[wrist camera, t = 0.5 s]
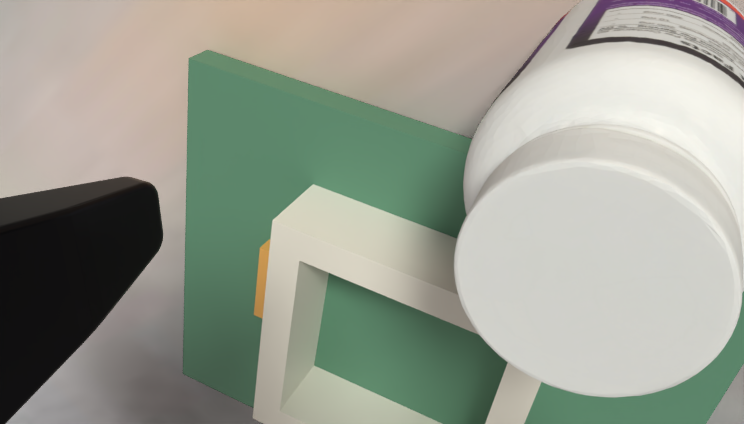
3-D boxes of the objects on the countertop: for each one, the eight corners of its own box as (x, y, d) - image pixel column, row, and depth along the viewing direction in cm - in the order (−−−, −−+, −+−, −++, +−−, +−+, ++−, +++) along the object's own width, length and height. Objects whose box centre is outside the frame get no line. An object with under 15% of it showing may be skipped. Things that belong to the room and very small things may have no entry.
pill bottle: (606, 211, 20) (527, 467, 12) (500, 50, 19) (342, 213, 11) (813, 119, 17) (887, 384, 9) (696, -78, 16) (667, 23, 8)
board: (798, 249, 18) (811, 328, 15) (612, 556, 26) (597, 646, 23) (207, 49, 23) (135, 82, 20) (197, 359, 30) (143, 414, 28)
